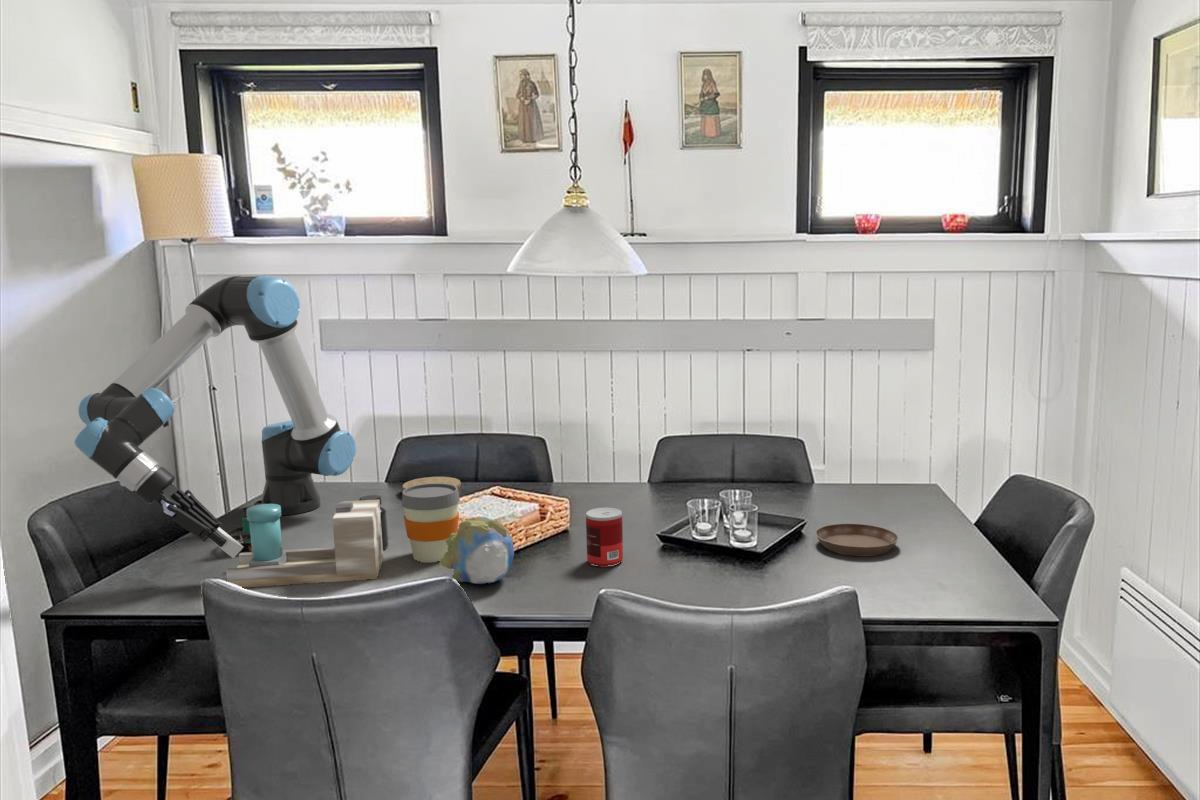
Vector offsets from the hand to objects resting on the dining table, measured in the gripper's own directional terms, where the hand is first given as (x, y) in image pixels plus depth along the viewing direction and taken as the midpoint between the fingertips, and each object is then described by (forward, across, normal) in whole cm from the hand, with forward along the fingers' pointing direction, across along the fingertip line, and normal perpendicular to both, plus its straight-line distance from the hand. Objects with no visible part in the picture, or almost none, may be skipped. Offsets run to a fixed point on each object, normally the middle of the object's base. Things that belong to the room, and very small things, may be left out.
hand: (238, 552), depth 200 cm
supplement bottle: (+22, -15, +14) cm, 30 cm away
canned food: (+58, +4, +50) cm, 77 cm away
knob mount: (+14, 0, +6) cm, 15 cm away
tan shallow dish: (+30, -61, +21) cm, 71 cm away
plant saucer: (+98, +4, +90) cm, 133 cm away
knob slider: (+7, 0, +2) cm, 7 cm away
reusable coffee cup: (+32, -7, +24) cm, 41 cm away
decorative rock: (+39, +10, +31) cm, 51 cm away
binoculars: (+2, -21, -6) cm, 22 cm away
